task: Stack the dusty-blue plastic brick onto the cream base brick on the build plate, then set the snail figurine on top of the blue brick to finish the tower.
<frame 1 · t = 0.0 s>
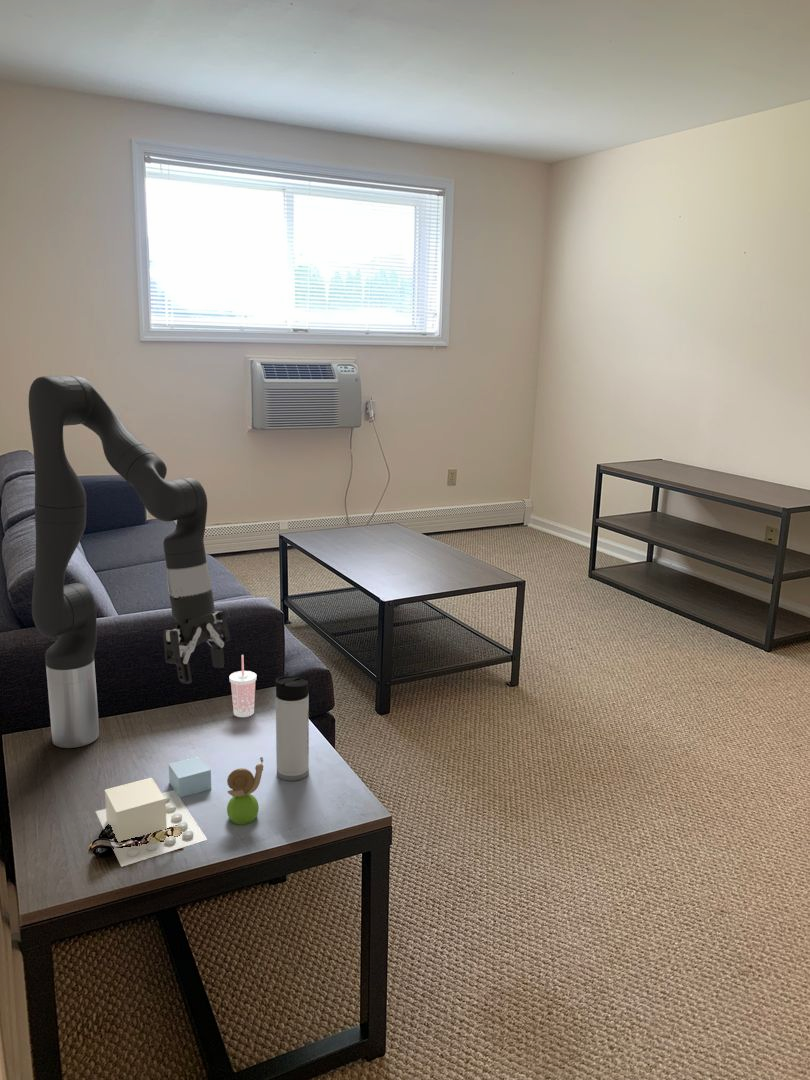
hand: (202, 674, 147), 22 cm above the table, tool pointing down, fingers open, 8 cm apart
build plate: (150, 830, 137), on the table
travel mug: (292, 774, 157), on the table
snail figurine: (246, 823, 140), on the table
base brick: (136, 825, 137), resting on build plate
blue brick: (190, 791, 150), on the table
beverage cup: (243, 713, 182), on the table
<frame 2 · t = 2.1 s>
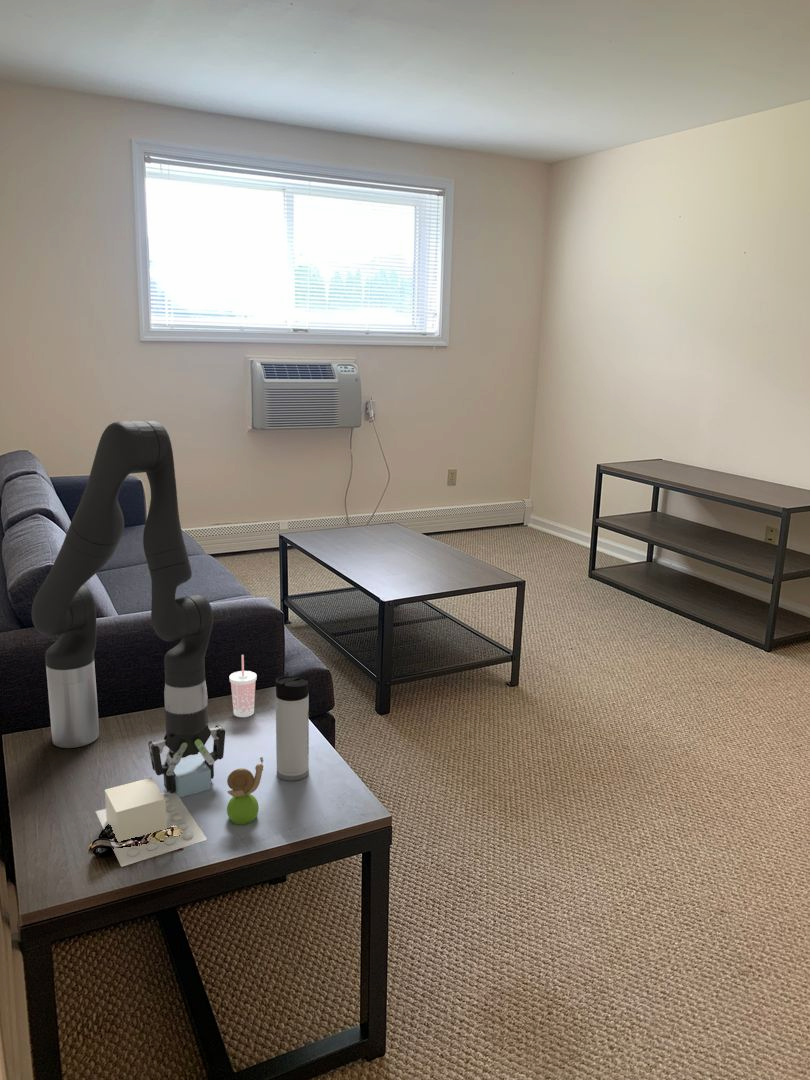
hand: (189, 785, 149), 1 cm above the table, tool pointing down, fingers open, 6 cm apart
blue brick: (190, 791, 150), on the table, touching build plate, gripper
everything else where it was.
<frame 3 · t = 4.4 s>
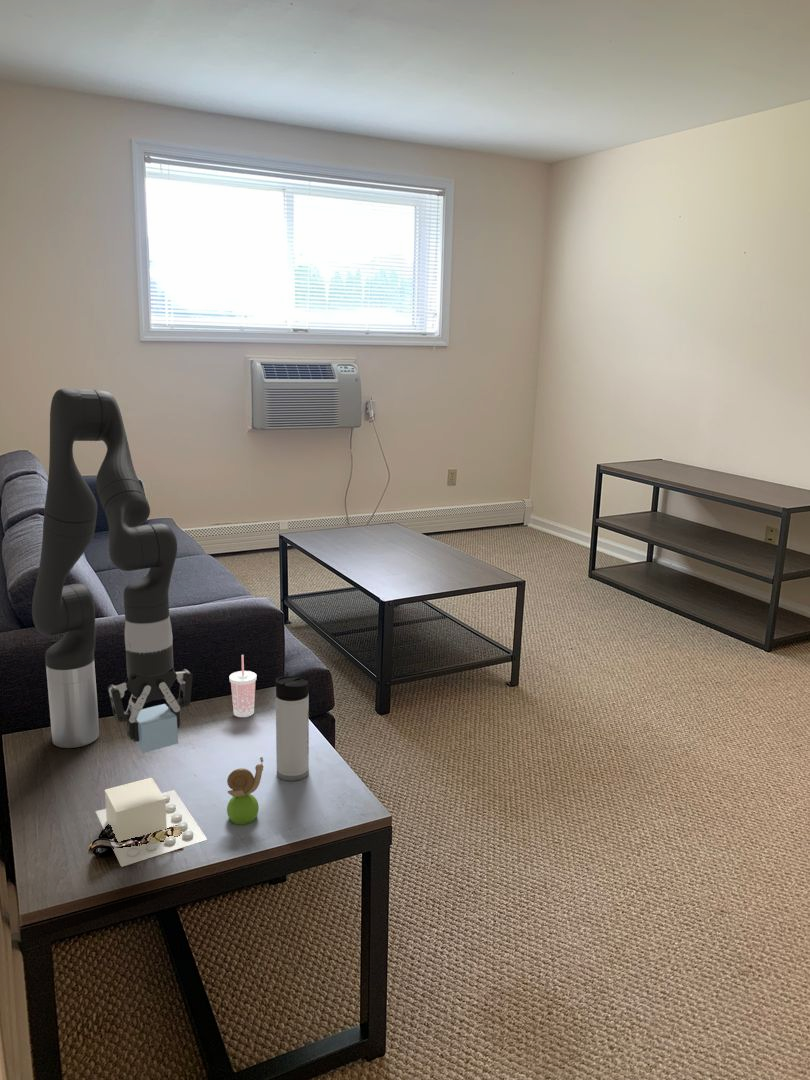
hand: (154, 734, 137), 16 cm above the table, tool pointing down, fingers closed on blue brick, 6 cm apart
blue brick: (155, 741, 137), point 15 cm above the table, touching gripper
everything else where it was.
when the fingers open (9 cm above the table, at t = 6.4 s): blue brick stays where it is, resting on base brick.
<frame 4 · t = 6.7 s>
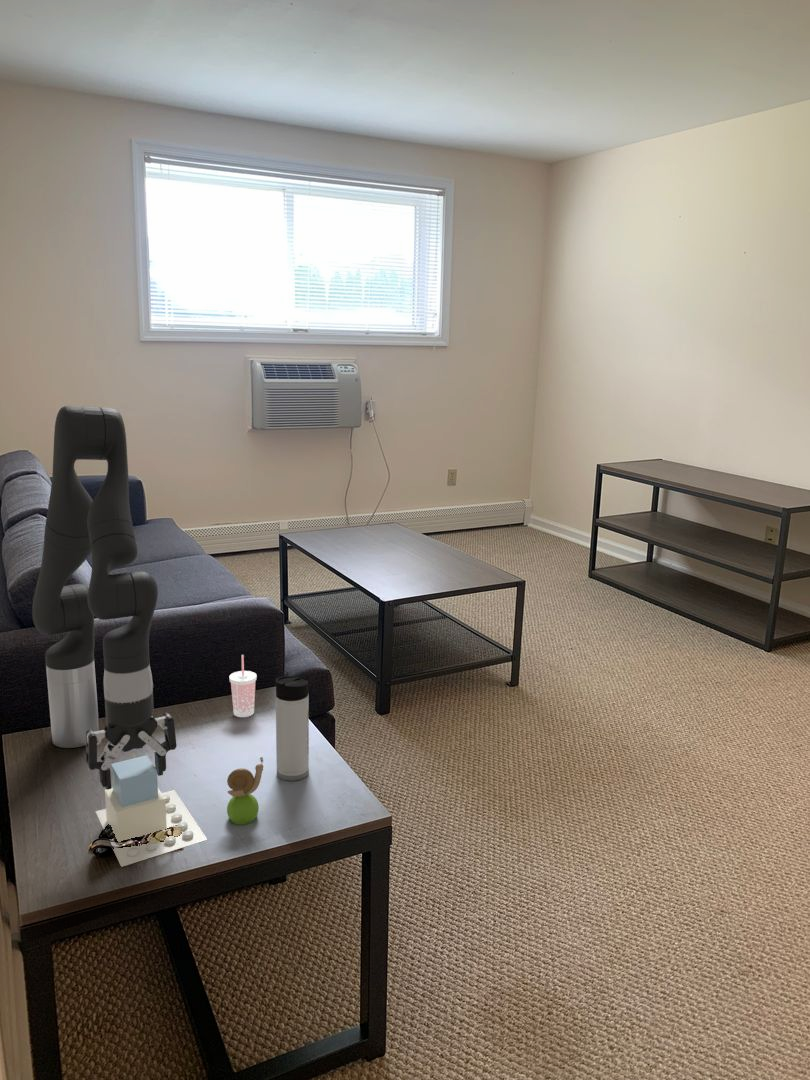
hand: (133, 780, 135), 10 cm above the table, tool pointing down, fingers open, 8 cm apart
blue brick: (135, 793, 135), point 7 cm above the table, touching base brick
everything else where it was.
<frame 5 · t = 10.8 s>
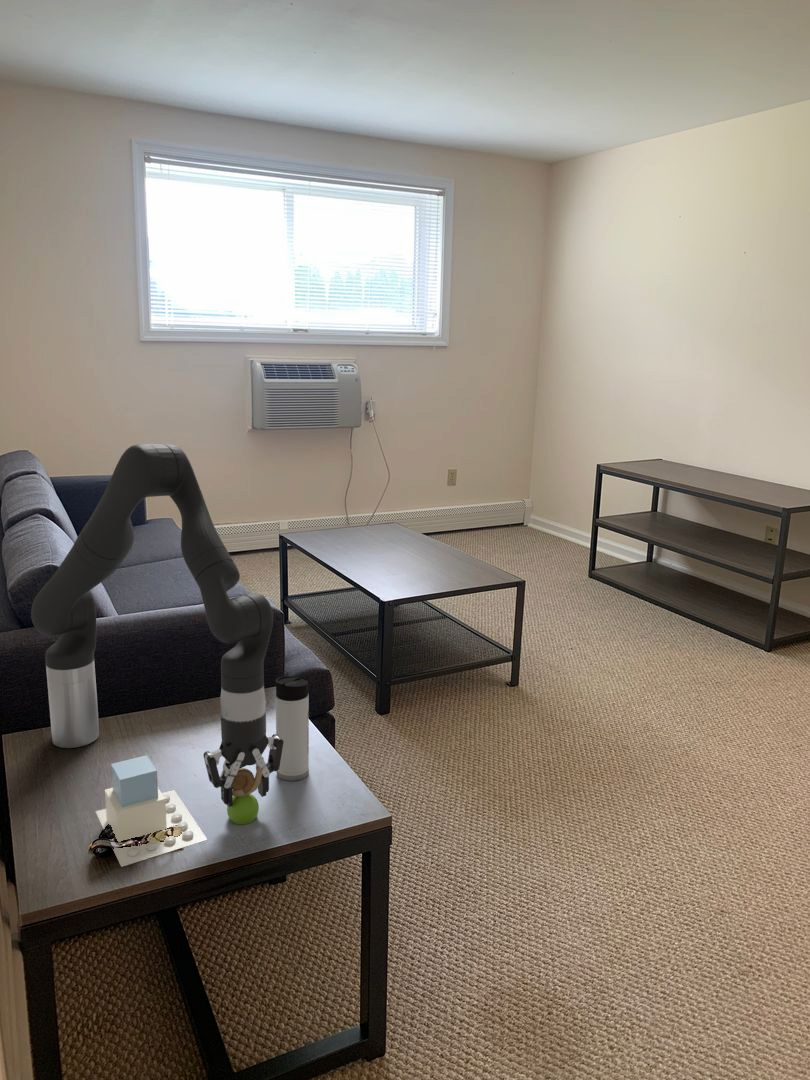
hand: (245, 798, 139), 5 cm above the table, tool pointing down, fingers closed on snail figurine, 5 cm apart
snail figurine: (246, 822, 140), on the table, touching gripper
everything else where it was.
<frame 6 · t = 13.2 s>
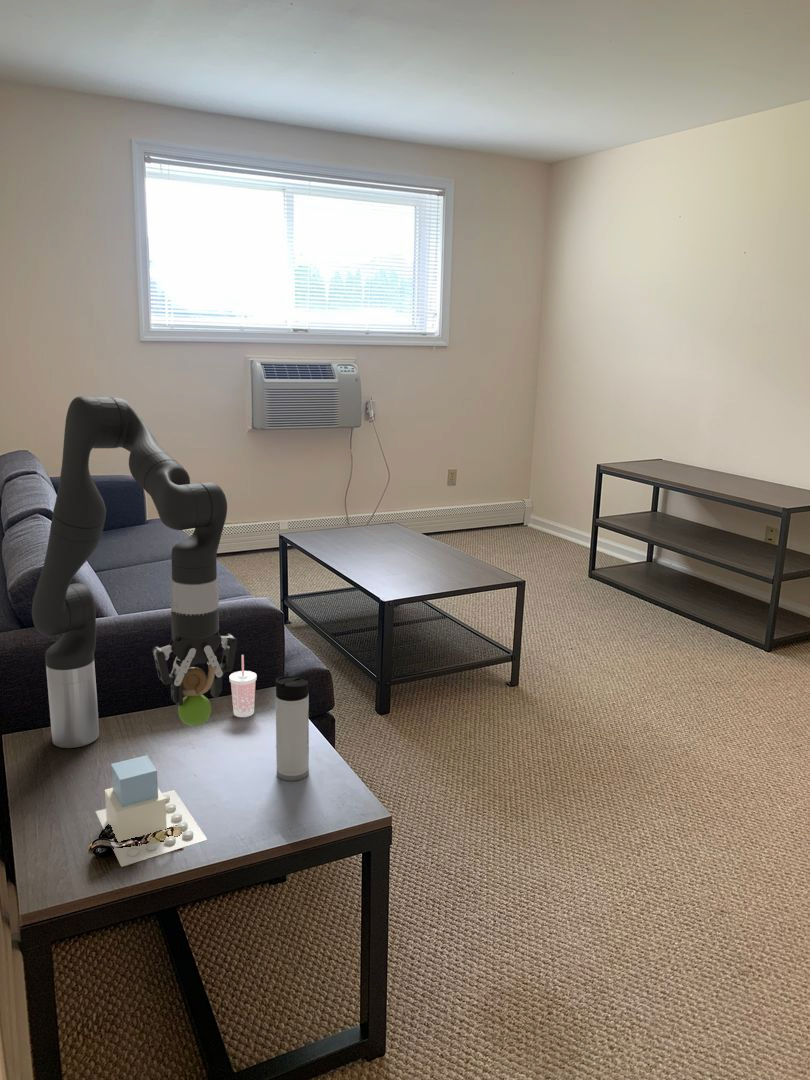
hand: (196, 699, 134), 23 cm above the table, tool pointing down, fingers closed on snail figurine, 5 cm apart
snail figurine: (197, 725, 135), point 19 cm above the table, touching gripper
everything else where it was.
when the fingers open (18 cm above the table, at t = 15.8 s): snail figurine drops 1 cm, resting on blue brick.
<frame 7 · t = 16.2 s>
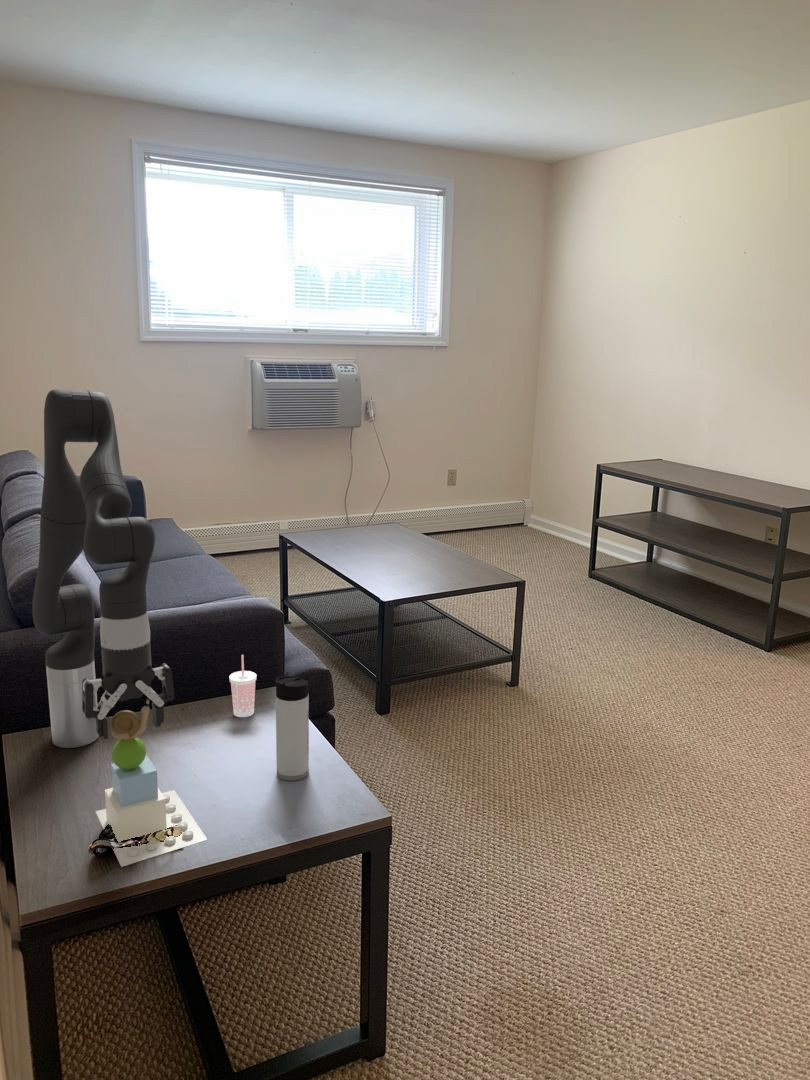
hand: (131, 731, 133), 19 cm above the table, tool pointing down, fingers open, 8 cm apart
snail figurine: (133, 768, 134), point 12 cm above the table, touching blue brick
blue brick: (135, 793, 135), point 7 cm above the table, touching base brick, snail figurine
everything else where it was.
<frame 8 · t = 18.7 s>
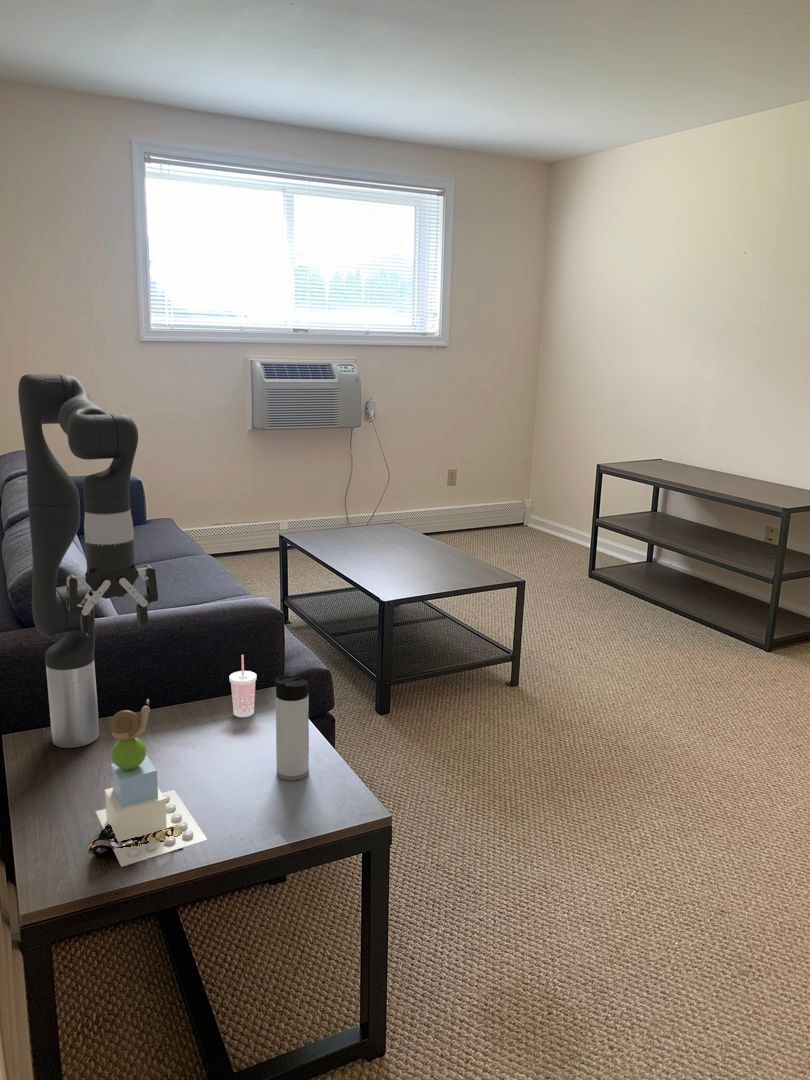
hand: (115, 630, 135), 34 cm above the table, tool pointing down, fingers open, 8 cm apart
nothing on the table moved.
at the end: blue brick 0.1 cm from the target spot, point 7.0 cm above the table; snail figurine inside the target area (0.0 cm from its centre), point 11.8 cm above the table; snail figurine tilted 0° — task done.
